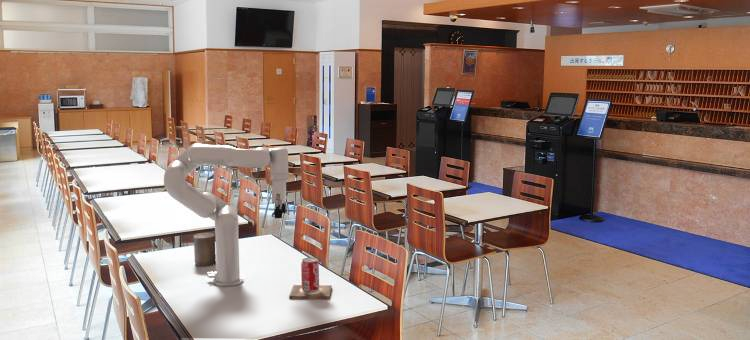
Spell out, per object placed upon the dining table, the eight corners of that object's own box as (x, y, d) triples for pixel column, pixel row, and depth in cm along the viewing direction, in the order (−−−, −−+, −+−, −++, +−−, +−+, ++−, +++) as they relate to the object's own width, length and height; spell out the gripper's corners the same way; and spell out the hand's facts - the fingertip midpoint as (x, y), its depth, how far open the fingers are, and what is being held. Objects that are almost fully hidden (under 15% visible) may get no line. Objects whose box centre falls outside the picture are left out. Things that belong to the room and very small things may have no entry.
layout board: (289, 298, 257) (289, 295, 257) (293, 287, 270) (293, 284, 270) (329, 299, 257) (329, 296, 257) (331, 288, 270) (331, 285, 270)
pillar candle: (220, 262, 304) (219, 231, 302) (204, 267, 296) (203, 236, 294) (205, 259, 310) (204, 229, 307) (190, 264, 301) (188, 233, 299)
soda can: (316, 293, 259) (316, 262, 257) (299, 292, 261) (298, 261, 259) (321, 288, 266) (321, 257, 264) (304, 286, 268) (304, 256, 266)
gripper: (273, 173, 284) (274, 211, 286) (267, 179, 266) (268, 220, 269) (290, 173, 283) (291, 211, 286) (285, 179, 266) (285, 220, 269)
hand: (280, 215), depth 278 cm, fingers open, 9 cm apart
